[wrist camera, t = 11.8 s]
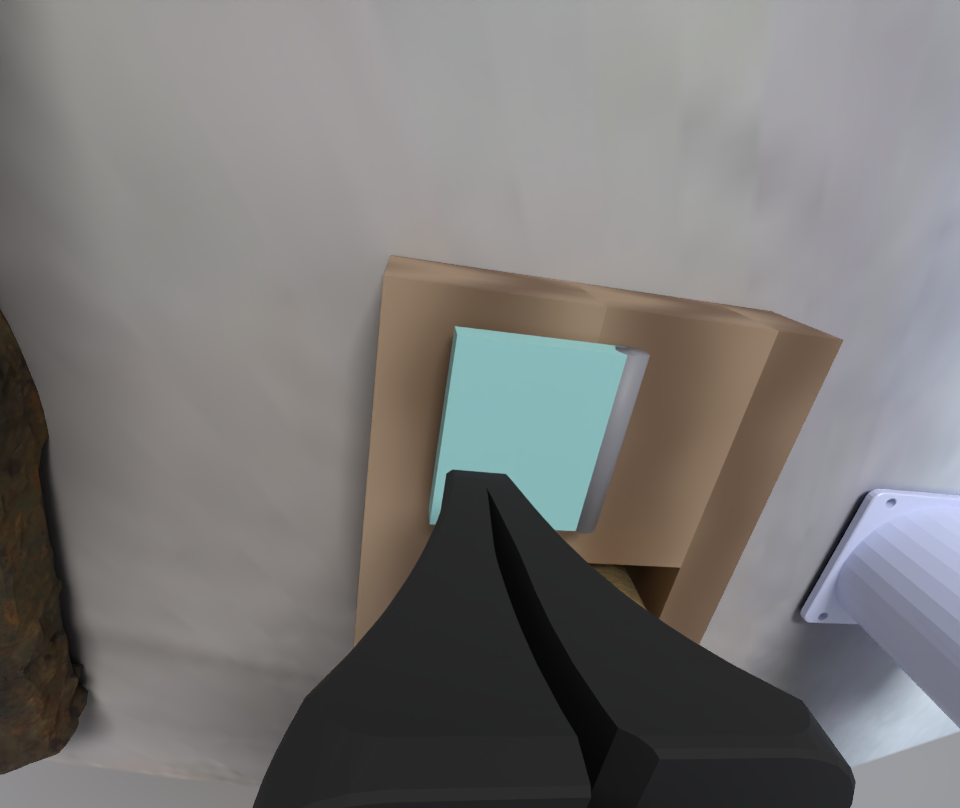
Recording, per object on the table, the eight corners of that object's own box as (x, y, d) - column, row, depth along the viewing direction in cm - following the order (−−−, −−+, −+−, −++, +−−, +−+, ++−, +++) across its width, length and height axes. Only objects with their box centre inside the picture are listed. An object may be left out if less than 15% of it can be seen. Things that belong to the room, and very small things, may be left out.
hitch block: (771, 311, 18) (843, 340, 15) (645, 623, 25) (678, 688, 22) (390, 255, 16) (383, 275, 13) (360, 614, 23) (350, 686, 19)
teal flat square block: (640, 347, 15) (656, 359, 14) (589, 514, 17) (599, 534, 16) (454, 324, 14) (457, 336, 13) (428, 506, 16) (429, 526, 15)
